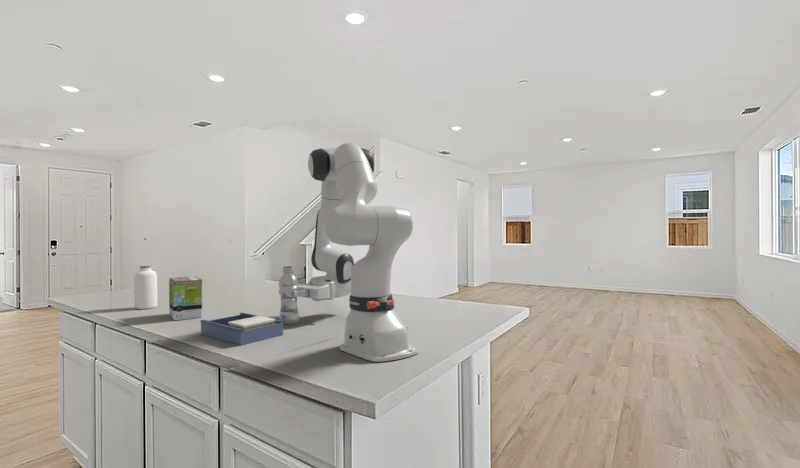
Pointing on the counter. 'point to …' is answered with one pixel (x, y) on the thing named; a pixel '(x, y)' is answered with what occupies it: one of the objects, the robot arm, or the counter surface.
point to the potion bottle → (145, 288)
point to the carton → (252, 322)
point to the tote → (240, 330)
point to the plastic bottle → (288, 296)
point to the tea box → (185, 297)
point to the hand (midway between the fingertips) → (286, 293)
